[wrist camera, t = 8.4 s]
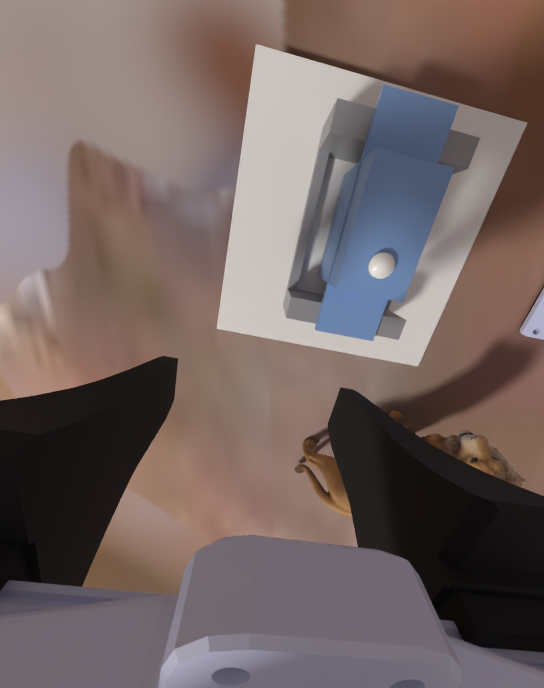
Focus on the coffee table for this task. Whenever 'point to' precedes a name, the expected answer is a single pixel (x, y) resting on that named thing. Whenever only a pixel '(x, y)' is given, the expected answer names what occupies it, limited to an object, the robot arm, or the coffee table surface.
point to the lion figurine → (460, 447)
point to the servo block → (384, 212)
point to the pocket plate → (321, 198)
